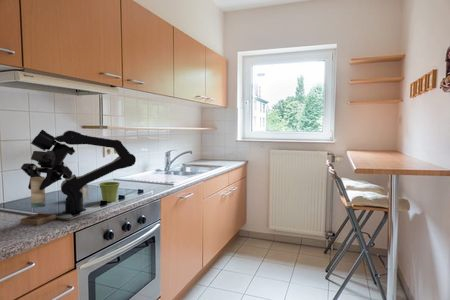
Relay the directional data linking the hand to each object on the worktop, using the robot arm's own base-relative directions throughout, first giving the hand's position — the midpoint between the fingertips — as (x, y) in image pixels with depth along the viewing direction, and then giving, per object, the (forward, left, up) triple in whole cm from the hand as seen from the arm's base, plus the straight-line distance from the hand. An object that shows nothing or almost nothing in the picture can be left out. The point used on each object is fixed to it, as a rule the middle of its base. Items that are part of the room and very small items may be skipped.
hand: (34, 189), depth 108 cm
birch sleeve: (-2, 0, -7) cm, 7 cm away
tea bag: (-34, -9, -13) cm, 38 cm away
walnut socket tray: (-1, 0, -13) cm, 13 cm away
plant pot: (-36, +6, -13) cm, 39 cm away
